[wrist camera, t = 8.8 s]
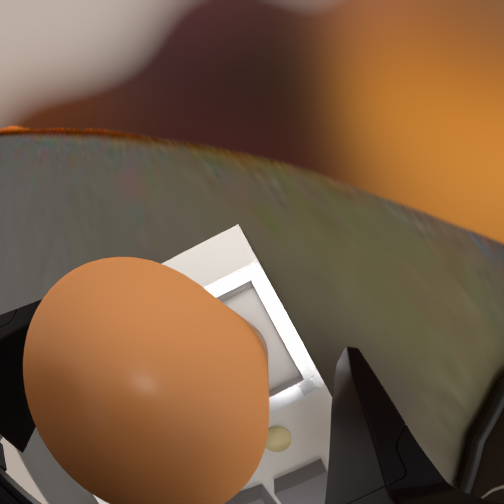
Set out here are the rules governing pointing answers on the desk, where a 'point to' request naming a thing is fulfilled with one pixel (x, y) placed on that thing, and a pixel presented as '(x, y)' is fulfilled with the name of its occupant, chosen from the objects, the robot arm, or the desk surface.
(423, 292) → the desk surface
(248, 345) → the plug
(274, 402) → the socket collar
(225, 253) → the breaker panel
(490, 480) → the black drum container
